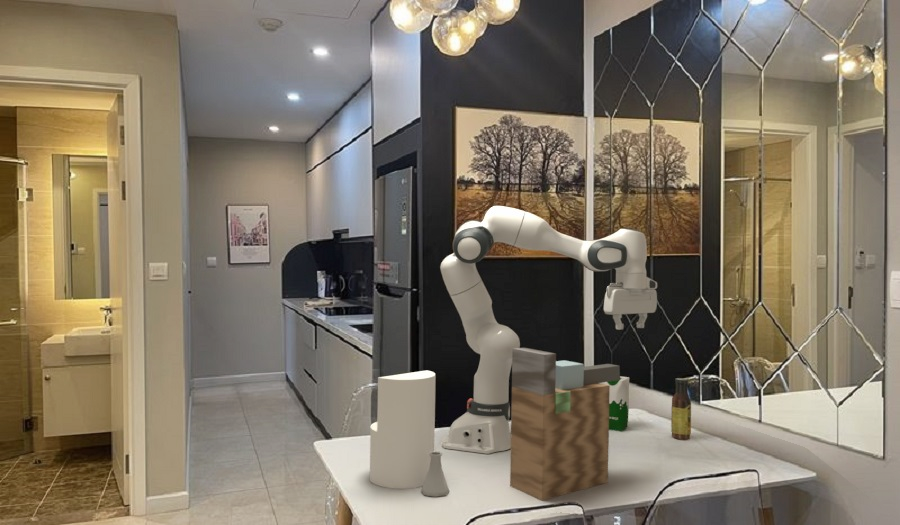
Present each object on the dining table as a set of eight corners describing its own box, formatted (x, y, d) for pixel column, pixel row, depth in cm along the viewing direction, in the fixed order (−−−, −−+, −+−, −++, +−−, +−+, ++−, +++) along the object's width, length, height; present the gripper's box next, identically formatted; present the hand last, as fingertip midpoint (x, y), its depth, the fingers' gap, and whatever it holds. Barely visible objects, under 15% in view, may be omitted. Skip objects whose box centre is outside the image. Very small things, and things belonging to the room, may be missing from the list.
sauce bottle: (692, 441, 215) (693, 381, 215) (672, 439, 216) (673, 380, 216) (689, 435, 221) (690, 377, 221) (669, 434, 222) (670, 376, 222)
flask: (448, 487, 168) (449, 449, 168) (449, 497, 161) (450, 457, 160) (420, 487, 168) (421, 448, 167) (420, 497, 160) (421, 457, 160)
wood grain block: (542, 500, 159) (545, 354, 159) (509, 485, 170) (511, 348, 169) (608, 482, 173) (611, 348, 173) (574, 469, 183) (576, 342, 183)
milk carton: (598, 428, 229) (599, 372, 228) (607, 423, 236) (608, 368, 236) (623, 432, 224) (624, 374, 224) (631, 427, 232) (632, 371, 232)
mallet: (561, 389, 166) (562, 366, 166) (542, 385, 172) (543, 362, 172) (623, 380, 180) (624, 359, 180) (604, 376, 186) (604, 356, 186)
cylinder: (446, 478, 175) (448, 374, 174) (397, 493, 163) (399, 382, 162) (405, 462, 187) (407, 366, 187) (356, 476, 175) (358, 372, 175)
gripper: (615, 283, 186) (614, 331, 186) (660, 282, 197) (660, 328, 197) (599, 282, 191) (598, 329, 191) (644, 282, 202) (643, 326, 203)
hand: (630, 328), depth 194 cm, fingers open, 8 cm apart
